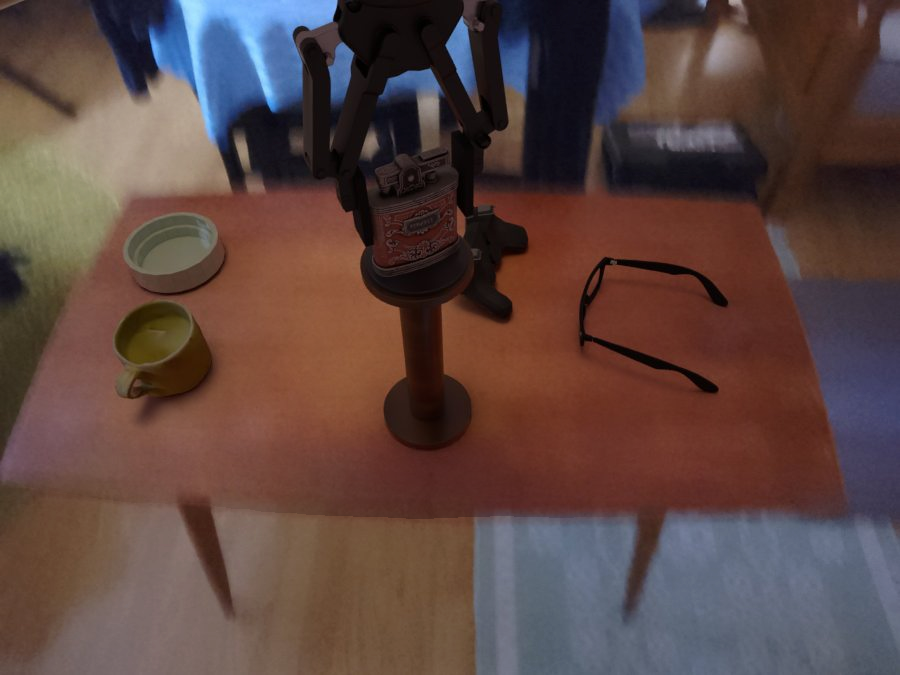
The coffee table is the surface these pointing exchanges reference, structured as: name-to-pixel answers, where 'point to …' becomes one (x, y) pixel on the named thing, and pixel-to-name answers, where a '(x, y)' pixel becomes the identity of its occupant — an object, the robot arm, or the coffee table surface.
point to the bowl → (174, 252)
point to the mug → (160, 350)
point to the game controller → (490, 256)
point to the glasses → (635, 355)
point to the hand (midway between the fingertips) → (414, 220)
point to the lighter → (414, 212)
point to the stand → (424, 350)
